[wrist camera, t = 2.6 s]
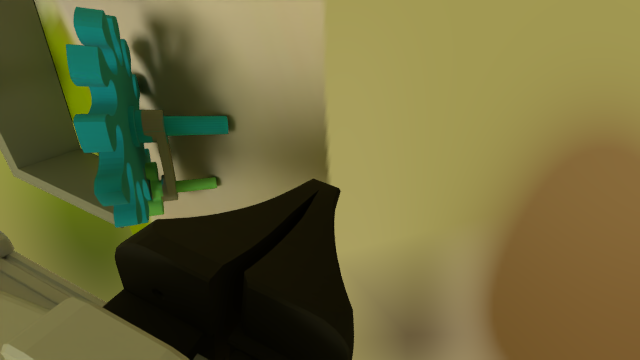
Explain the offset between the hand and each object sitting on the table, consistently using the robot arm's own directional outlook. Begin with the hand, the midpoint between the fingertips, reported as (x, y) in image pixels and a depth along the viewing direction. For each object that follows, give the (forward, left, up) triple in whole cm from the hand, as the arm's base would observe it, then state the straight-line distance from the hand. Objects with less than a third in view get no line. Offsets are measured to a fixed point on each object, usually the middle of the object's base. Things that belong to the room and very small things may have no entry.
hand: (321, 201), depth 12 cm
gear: (0, +10, -3) cm, 11 cm away
